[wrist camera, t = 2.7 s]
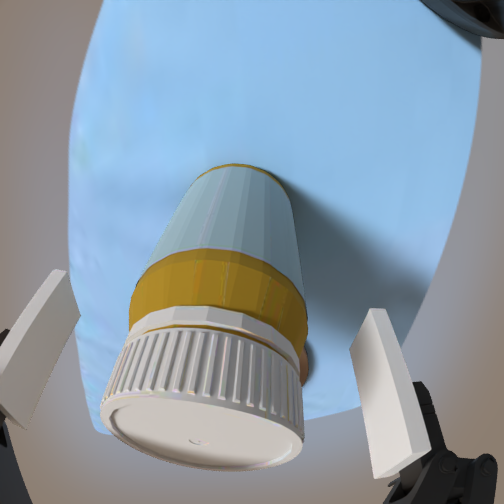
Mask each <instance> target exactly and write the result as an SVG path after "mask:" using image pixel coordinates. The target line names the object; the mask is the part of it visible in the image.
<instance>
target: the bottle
mask: <svg viewBox="0 0 504 504" xmlns="http://www.w3.org/2000/svg"><path fill="white" fill-rule="evenodd" d="M307 320H308V317H307V309H306V301H305V294H304V286H303V279H302V272H301V265H300V258H299V251H298V244H297V238H296V231H295V225H294V218H293V213H292V208H291V203H290V200H289V197H288V195H287V193H286V192H285V190H284V188H283V187H282V185H281V184H280V183H279V182H278V181H277V180H276V179H275V178H273V177H272V176H271V175H270V174H269V173H267V172H265V171H263V170H261V169H259V168H256V167H254V166H251V165H245V164H226V165H222V166H217V167H214V168H212V169H210V170H208V171H207V172H205V173H203V174H202V175H200V176H199V177H198V178H197V179H196V180H195V181H194V183H193V184H192V185H191V186H190V188H189V189H188V190H187V192H186V194H185V195H184V197H183V199H182V200H181V202H180V204H179V206H178V207H177V209H176V211H175V213H174V214H173V216H172V218H171V220H170V222H169V223H168V225H167V227H166V229H165V231H164V232H163V234H162V236H161V238H160V240H159V242H158V244H157V245H156V247H155V249H154V251H153V253H152V255H151V257H150V259H149V261H148V263H147V265H146V266H145V268H144V270H143V272H142V274H141V276H140V278H139V280H138V282H137V285H136V288H135V290H134V292H133V295H132V297H131V302H130V308H129V335H128V337H127V339H126V341H125V344H124V346H123V349H122V351H121V352H120V354H119V356H118V358H117V361H116V363H115V366H114V369H113V371H112V374H111V377H110V379H109V382H108V385H107V387H106V390H105V393H104V396H103V398H102V401H101V406H100V408H101V412H100V417H101V420H102V422H103V424H104V425H105V427H106V428H107V429H108V430H109V431H110V432H111V433H112V434H113V435H114V436H116V437H117V438H118V439H120V440H121V441H122V442H124V443H126V444H127V445H129V446H131V447H132V448H135V449H136V450H138V451H140V452H142V453H145V454H147V455H150V456H152V457H155V458H157V459H160V460H163V461H166V462H170V463H174V464H177V465H181V466H186V467H191V468H197V469H203V470H213V471H252V470H260V469H265V468H270V467H274V466H277V465H280V464H283V463H286V462H288V461H290V460H291V459H293V458H295V457H296V456H297V455H298V454H299V453H300V452H301V449H302V444H303V442H304V417H303V400H302V388H301V382H300V381H299V380H300V365H299V358H300V356H301V353H302V350H303V347H304V344H305V341H306V338H307V335H308V325H307Z"/></svg>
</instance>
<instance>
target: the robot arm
mask: <svg viewBox="0 0 504 504" xmlns="http://www.w3.org/2000/svg"><path fill="white" fill-rule="evenodd" d="M421 1H422V2H424V3H425V4H426V5H427V6H429V7H430V8H431V9H432V10H434V11H435V12H436V13H438V14H439V15H441V16H442V17H444V18H445V19H447V20H448V21H450V22H451V23H453V24H455V25H457V26H458V27H460V28H462V29H464V30H466V31H469V32H471V33H474V34H476V35H479V36H483V37H487V38H495V39H504V0H421ZM80 316H81V315H80V312H79V309H78V306H77V303H76V300H75V296H74V293H73V290H72V287H71V283H70V280H69V276H68V273H67V271H62V270H56V269H54V270H53V271H52V272H51V274H50V275H49V276H48V278H47V279H46V280H45V282H44V283H43V284H42V286H41V287H40V288H39V290H38V291H37V292H36V294H35V295H34V296H33V298H32V299H31V301H30V302H29V304H28V305H27V306H26V308H25V309H24V311H23V312H22V314H21V315H20V317H19V318H18V320H17V321H16V323H15V324H14V326H13V327H12V329H11V330H8V329H5V330H4V331H3V332H2V333H0V504H33V503H32V501H31V499H30V497H29V494H28V491H27V489H26V486H25V483H24V481H23V478H22V475H21V472H20V470H19V466H18V463H17V460H16V457H15V454H14V450H13V447H12V444H11V440H10V436H9V432H8V428H7V425H6V423H5V421H4V420H5V418H6V417H7V418H8V419H9V420H10V421H11V422H12V423H13V424H15V425H17V426H19V427H21V428H23V429H25V430H27V428H28V425H29V423H30V420H31V418H32V415H33V413H34V411H35V408H36V406H37V404H38V401H39V399H40V397H41V394H42V392H43V390H44V388H45V385H46V383H47V381H48V379H49V377H50V375H51V373H52V370H53V368H54V366H55V364H56V362H57V360H58V358H59V356H60V354H61V352H62V350H63V348H64V346H65V344H66V342H67V340H68V339H69V337H70V335H71V333H72V331H73V329H74V327H75V325H76V324H77V322H78V320H79V318H80ZM349 350H350V354H351V359H352V363H353V367H354V372H355V377H356V381H357V386H358V391H359V396H360V401H361V406H362V411H363V416H364V421H365V427H366V432H367V438H368V444H369V450H370V456H371V462H372V469H373V475H374V479H377V478H383V477H389V476H392V475H394V474H396V473H397V472H399V473H400V477H399V478H397V479H395V480H394V481H392V482H390V483H389V485H388V487H390V486H392V485H394V484H395V485H394V486H393V488H392V490H391V491H390V493H389V494H388V496H387V498H386V499H385V501H384V502H383V504H494V497H495V490H496V482H497V471H498V468H497V462H496V459H495V458H494V457H493V456H492V455H490V454H482V455H481V456H479V457H478V458H476V459H468V458H458V457H457V456H456V454H455V453H453V452H452V451H449V450H448V449H447V448H446V445H445V443H444V439H443V435H442V432H441V428H440V425H439V421H438V418H437V415H436V414H435V409H434V405H432V399H431V396H430V393H429V391H428V390H427V388H426V387H425V386H424V384H423V383H422V382H421V381H420V382H412V381H411V378H410V374H409V371H408V368H407V365H406V363H405V360H404V357H403V354H402V351H401V348H400V346H399V343H398V340H397V337H396V335H395V332H394V330H393V327H392V324H391V322H390V319H389V317H388V314H387V312H386V309H378V308H370V309H369V311H368V313H367V315H366V318H365V320H364V322H363V324H362V326H361V328H360V330H359V332H358V334H357V335H356V337H355V339H354V341H353V343H352V345H351V347H350V349H349Z"/></svg>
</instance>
